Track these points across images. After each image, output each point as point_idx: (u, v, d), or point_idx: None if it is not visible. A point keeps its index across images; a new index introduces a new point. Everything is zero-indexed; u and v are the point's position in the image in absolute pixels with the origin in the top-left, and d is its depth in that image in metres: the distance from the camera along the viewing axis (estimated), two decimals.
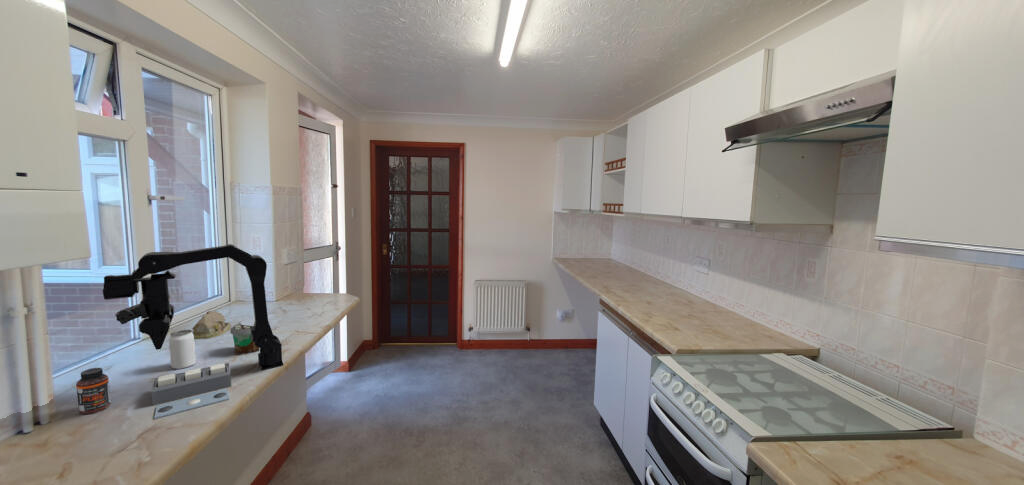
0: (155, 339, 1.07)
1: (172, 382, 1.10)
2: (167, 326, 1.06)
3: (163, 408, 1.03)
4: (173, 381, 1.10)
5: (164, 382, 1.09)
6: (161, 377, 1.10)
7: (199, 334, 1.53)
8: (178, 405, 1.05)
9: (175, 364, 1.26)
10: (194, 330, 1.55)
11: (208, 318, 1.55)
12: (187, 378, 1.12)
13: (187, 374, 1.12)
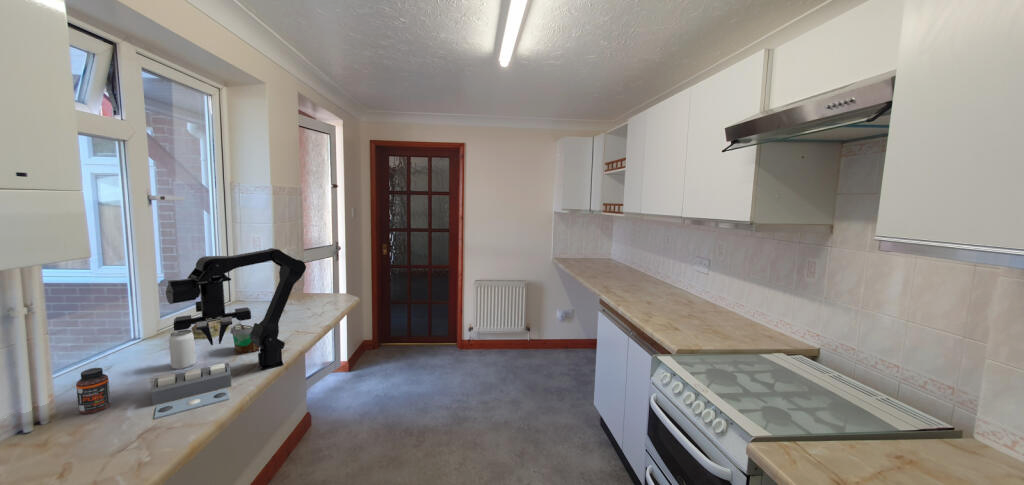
0: None
1: (172, 382, 1.10)
2: (174, 329, 1.08)
3: (163, 408, 1.03)
4: (173, 381, 1.10)
5: (164, 382, 1.09)
6: (161, 377, 1.10)
7: (198, 334, 1.53)
8: (178, 405, 1.05)
9: (175, 364, 1.26)
10: (193, 330, 1.55)
11: None
12: (187, 378, 1.12)
13: (187, 374, 1.12)
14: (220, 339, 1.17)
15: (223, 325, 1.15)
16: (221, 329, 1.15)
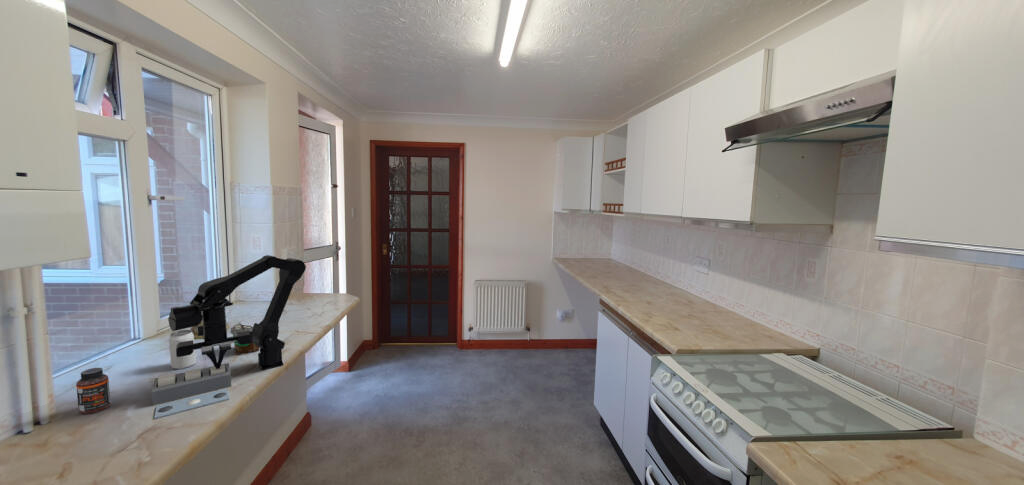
0: None
1: (172, 382, 1.10)
2: (177, 355, 1.09)
3: (163, 408, 1.03)
4: (173, 381, 1.10)
5: (164, 382, 1.09)
6: (161, 377, 1.10)
7: None
8: (178, 405, 1.05)
9: (175, 364, 1.26)
10: (192, 330, 1.55)
11: None
12: (187, 378, 1.12)
13: (187, 374, 1.12)
14: (219, 364, 1.17)
15: (222, 350, 1.16)
16: (220, 354, 1.16)
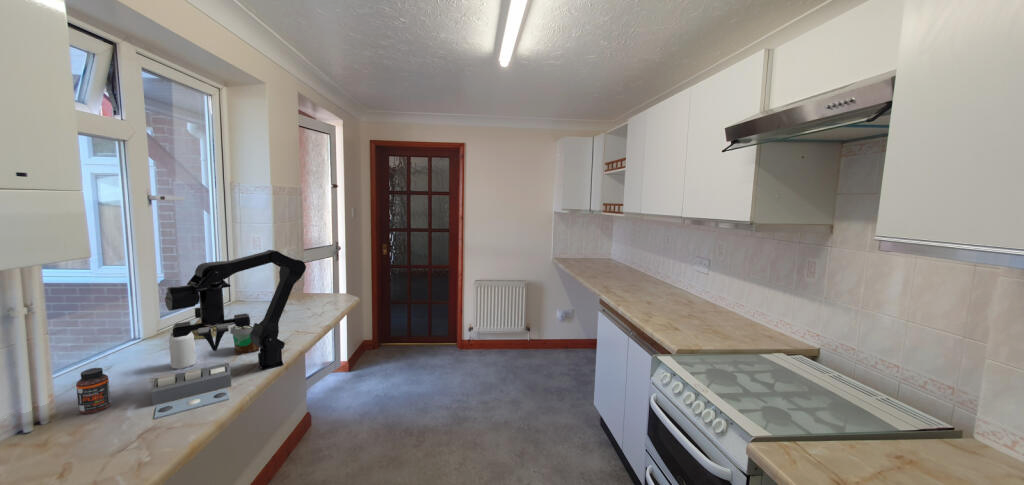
0: None
1: (172, 382, 1.10)
2: (173, 335, 1.08)
3: (163, 408, 1.03)
4: (173, 381, 1.10)
5: (164, 382, 1.09)
6: (161, 377, 1.10)
7: (197, 334, 1.53)
8: (178, 405, 1.05)
9: (175, 364, 1.26)
10: None
11: None
12: (187, 378, 1.12)
13: (187, 374, 1.12)
14: (216, 346, 1.16)
15: (219, 332, 1.15)
16: (217, 336, 1.15)
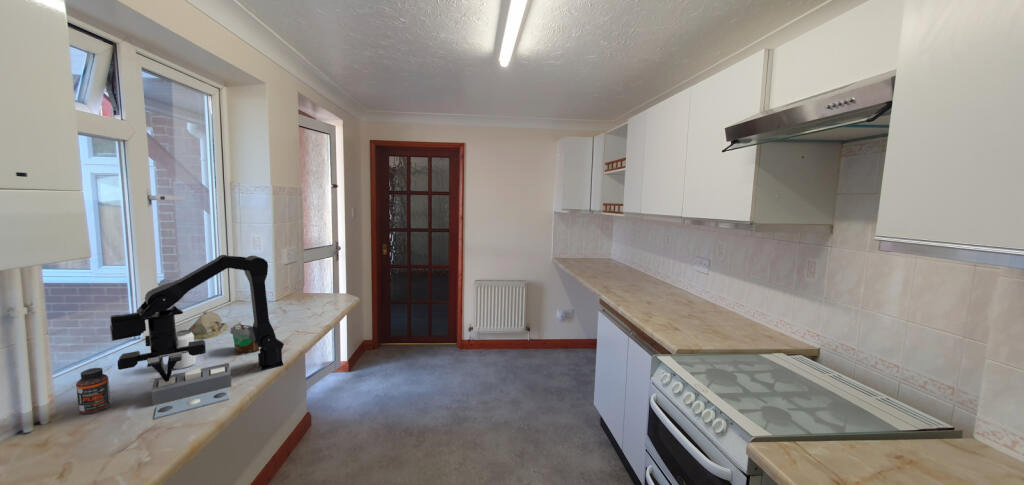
0: None
1: None
2: (118, 368, 1.01)
3: (163, 408, 1.03)
4: None
5: None
6: (161, 380, 1.10)
7: (196, 335, 1.53)
8: (178, 405, 1.05)
9: (175, 364, 1.26)
10: None
11: (205, 318, 1.55)
12: (187, 378, 1.12)
13: (187, 374, 1.12)
14: (168, 376, 1.10)
15: (170, 362, 1.08)
16: (168, 366, 1.08)
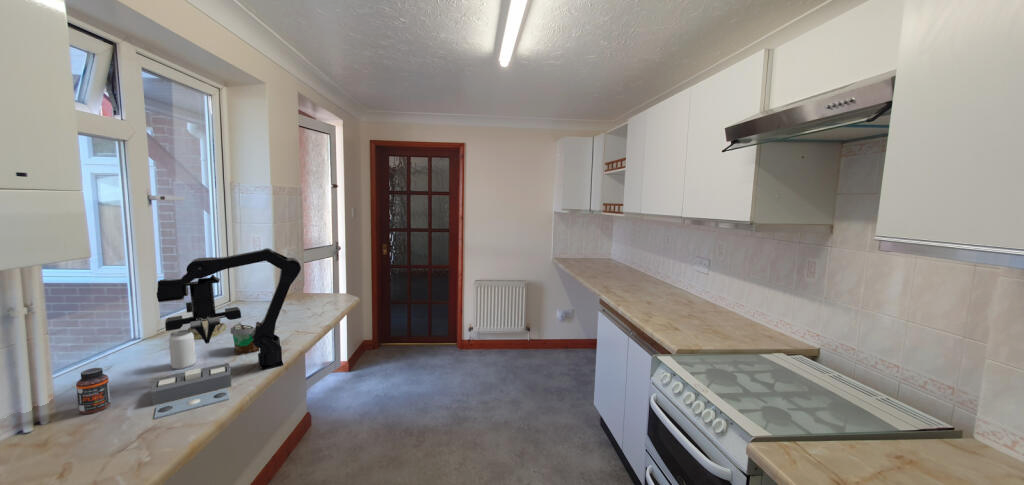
0: None
1: None
2: (166, 329, 1.12)
3: (163, 408, 1.03)
4: None
5: None
6: (161, 381, 1.10)
7: (195, 335, 1.52)
8: (178, 405, 1.05)
9: (175, 364, 1.26)
10: None
11: None
12: (187, 378, 1.12)
13: (187, 374, 1.12)
14: (208, 339, 1.20)
15: (211, 325, 1.19)
16: (209, 329, 1.19)
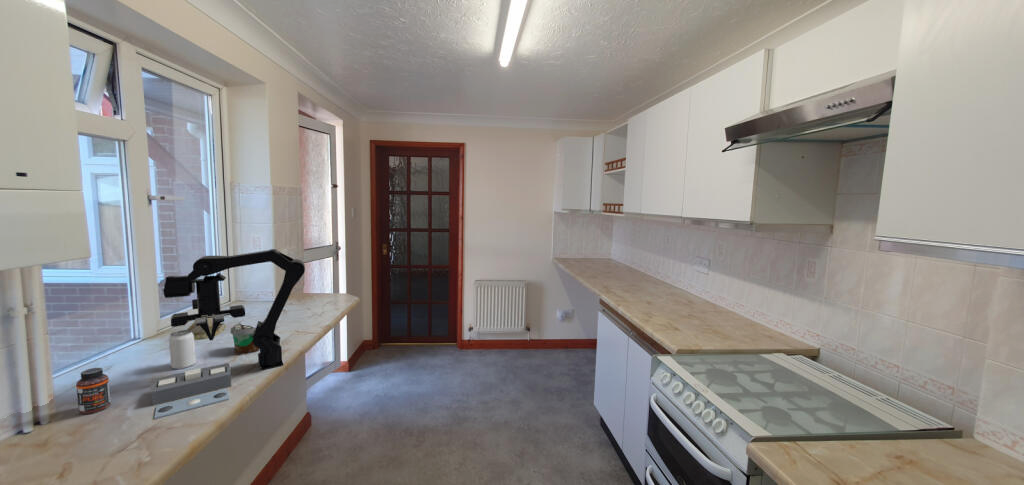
0: None
1: None
2: (172, 325, 1.14)
3: (163, 408, 1.03)
4: None
5: None
6: (161, 381, 1.10)
7: (195, 335, 1.52)
8: (178, 405, 1.05)
9: (175, 364, 1.26)
10: None
11: None
12: (187, 378, 1.12)
13: (187, 374, 1.12)
14: (212, 336, 1.22)
15: (215, 322, 1.20)
16: (213, 326, 1.21)
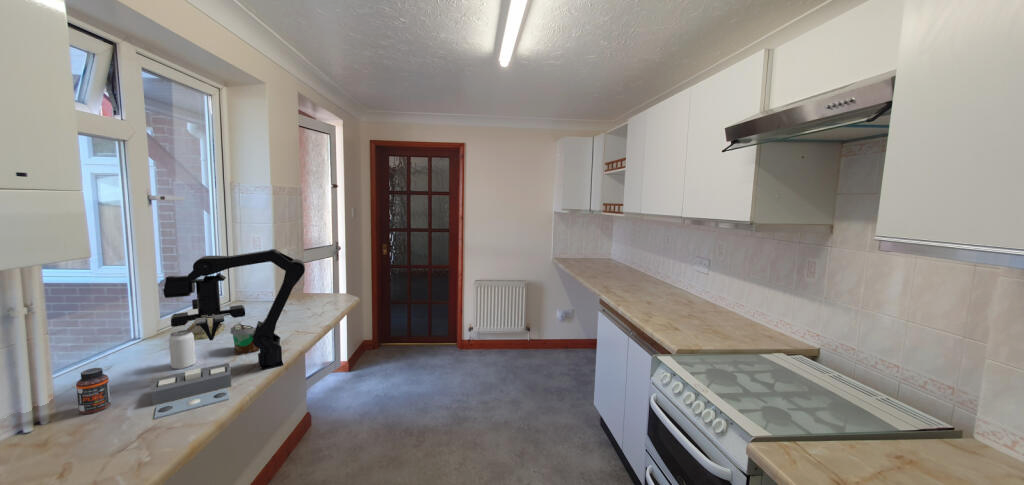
0: None
1: None
2: (172, 325, 1.14)
3: (163, 408, 1.03)
4: None
5: None
6: (161, 381, 1.10)
7: (195, 335, 1.52)
8: (178, 405, 1.05)
9: (175, 364, 1.26)
10: None
11: None
12: (187, 378, 1.12)
13: (187, 374, 1.12)
14: (212, 336, 1.22)
15: (215, 322, 1.20)
16: (213, 326, 1.21)
